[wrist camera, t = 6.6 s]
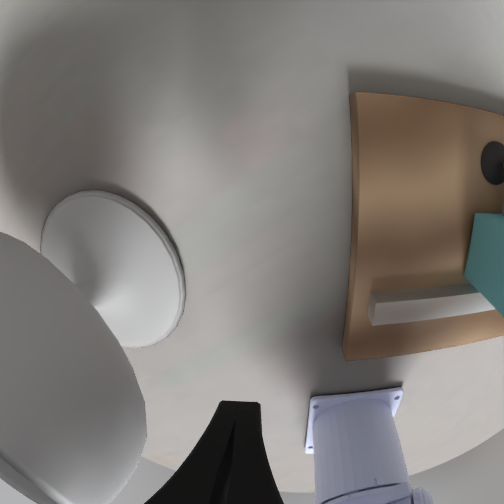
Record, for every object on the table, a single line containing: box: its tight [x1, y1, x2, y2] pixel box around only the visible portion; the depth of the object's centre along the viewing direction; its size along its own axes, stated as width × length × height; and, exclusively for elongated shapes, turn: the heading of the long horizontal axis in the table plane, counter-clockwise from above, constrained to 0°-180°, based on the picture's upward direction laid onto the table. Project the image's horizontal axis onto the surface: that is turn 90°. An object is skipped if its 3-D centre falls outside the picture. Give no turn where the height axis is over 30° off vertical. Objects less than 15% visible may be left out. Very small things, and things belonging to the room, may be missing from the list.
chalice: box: [0, 190, 186, 504], centre depth 12 cm, size 14×14×15 cm
